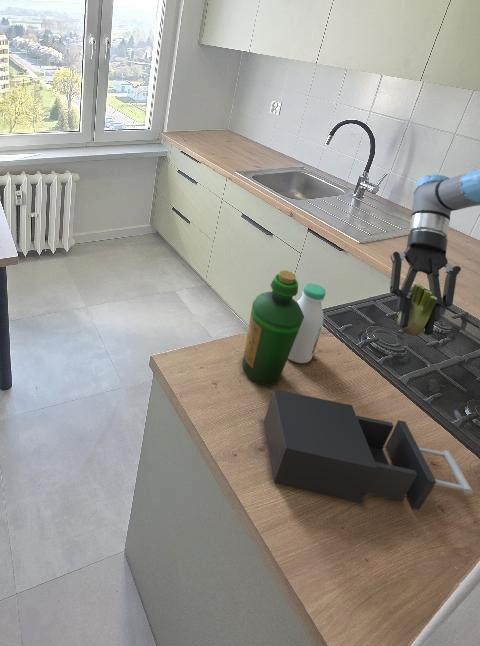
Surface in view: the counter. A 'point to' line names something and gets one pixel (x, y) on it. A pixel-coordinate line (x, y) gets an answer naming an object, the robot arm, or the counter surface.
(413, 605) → the counter surface
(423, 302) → the fennel bulb
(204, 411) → the counter surface
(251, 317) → the bottle
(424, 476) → the drawer
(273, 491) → the counter surface
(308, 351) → the milk bottle
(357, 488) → the cabinet
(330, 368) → the counter surface
